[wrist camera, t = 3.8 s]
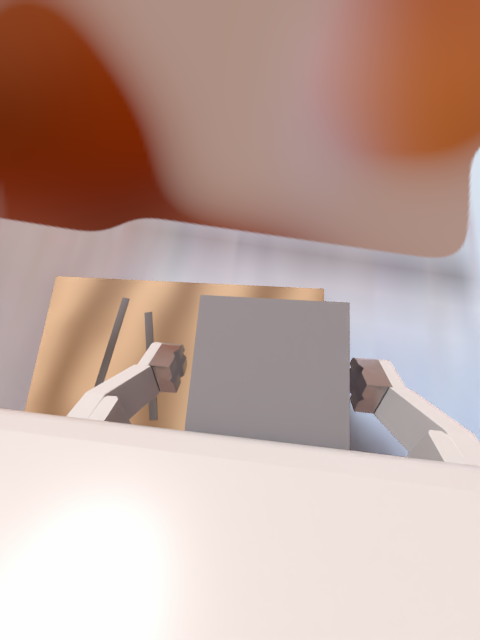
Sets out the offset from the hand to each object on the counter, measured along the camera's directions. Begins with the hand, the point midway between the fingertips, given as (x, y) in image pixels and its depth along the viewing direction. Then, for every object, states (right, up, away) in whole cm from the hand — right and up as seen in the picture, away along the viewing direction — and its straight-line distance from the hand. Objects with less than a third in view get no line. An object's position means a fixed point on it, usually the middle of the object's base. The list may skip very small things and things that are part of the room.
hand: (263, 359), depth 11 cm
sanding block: (+1, -1, +5) cm, 5 cm away
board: (-6, -1, +7) cm, 10 cm away
